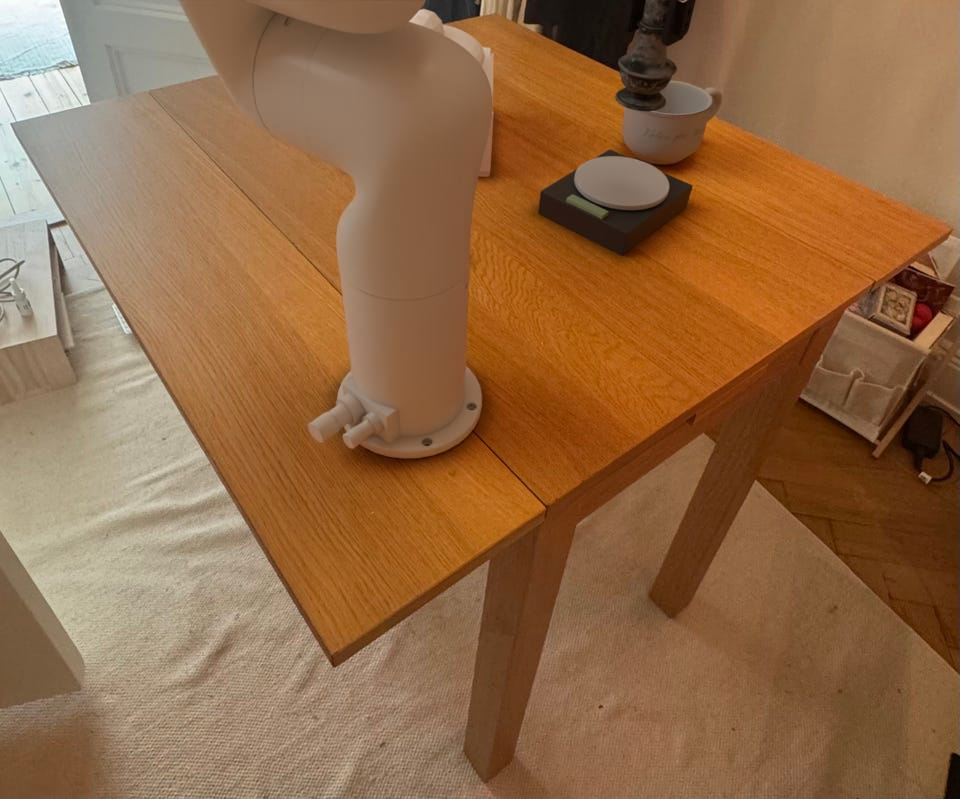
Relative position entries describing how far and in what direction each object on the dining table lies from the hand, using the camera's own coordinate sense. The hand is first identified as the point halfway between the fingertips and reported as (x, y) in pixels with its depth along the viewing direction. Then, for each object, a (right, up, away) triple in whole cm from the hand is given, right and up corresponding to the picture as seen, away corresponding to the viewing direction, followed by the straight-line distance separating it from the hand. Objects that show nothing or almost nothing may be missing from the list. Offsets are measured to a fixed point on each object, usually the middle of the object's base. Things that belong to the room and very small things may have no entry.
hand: (653, 33), depth 71 cm
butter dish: (-25, -1, +26) cm, 36 cm away
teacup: (+8, -3, +27) cm, 28 cm away
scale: (-1, -13, +16) cm, 21 cm away
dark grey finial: (0, -5, +5) cm, 7 cm away
